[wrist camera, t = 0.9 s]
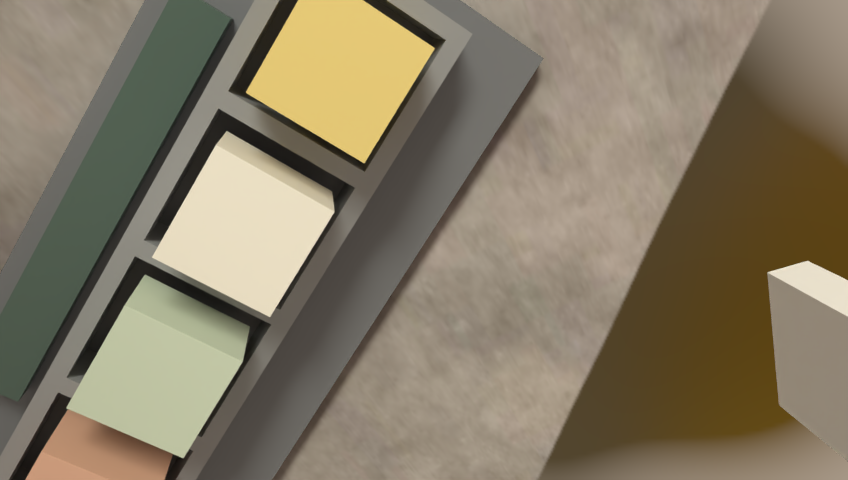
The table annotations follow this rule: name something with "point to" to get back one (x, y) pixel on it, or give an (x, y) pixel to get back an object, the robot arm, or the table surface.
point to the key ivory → (246, 225)
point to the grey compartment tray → (173, 179)
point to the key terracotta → (97, 454)
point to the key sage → (162, 367)
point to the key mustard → (340, 71)
